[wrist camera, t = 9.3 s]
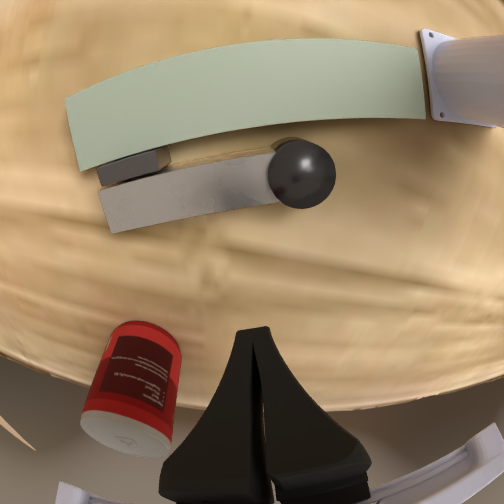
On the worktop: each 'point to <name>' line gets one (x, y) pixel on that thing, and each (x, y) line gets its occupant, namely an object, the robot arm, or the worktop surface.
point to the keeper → (134, 165)
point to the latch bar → (222, 185)
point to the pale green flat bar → (243, 93)
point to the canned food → (135, 391)
